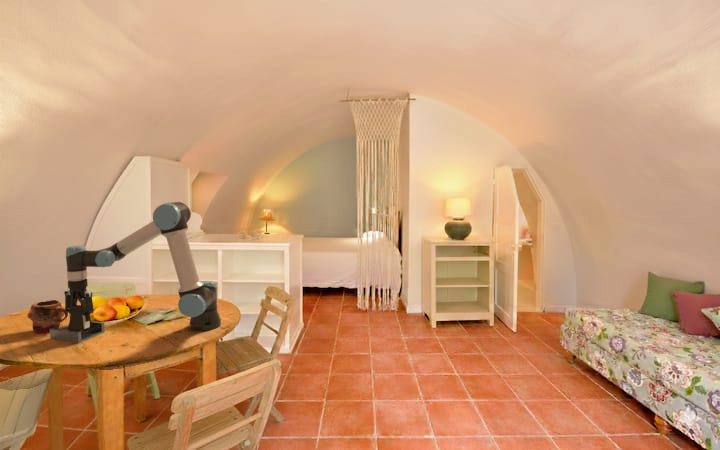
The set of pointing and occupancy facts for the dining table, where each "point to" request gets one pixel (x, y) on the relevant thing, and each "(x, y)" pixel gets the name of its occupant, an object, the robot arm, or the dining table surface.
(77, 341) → the bracket
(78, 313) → the door stopper
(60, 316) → the brown clay mug
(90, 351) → the dining table surface
